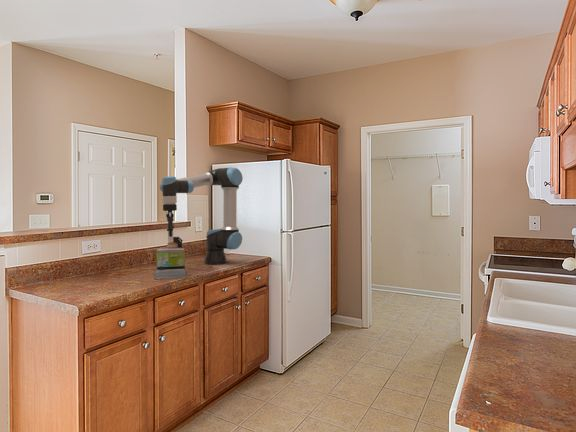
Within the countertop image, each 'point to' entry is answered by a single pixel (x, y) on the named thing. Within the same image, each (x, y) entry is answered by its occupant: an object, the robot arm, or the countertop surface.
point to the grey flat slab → (170, 275)
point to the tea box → (170, 259)
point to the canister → (175, 243)
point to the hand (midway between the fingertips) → (170, 241)
